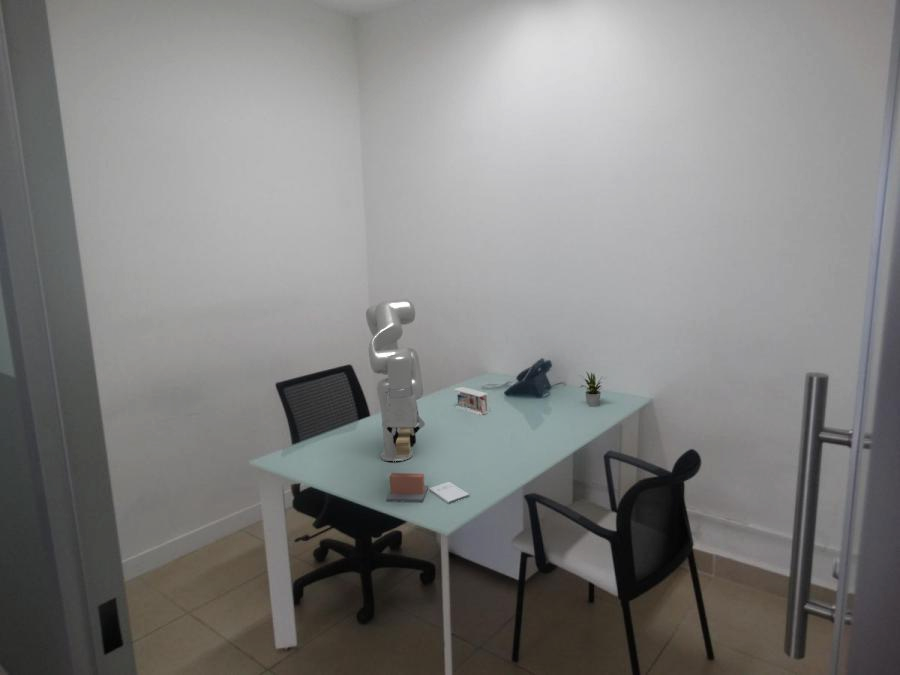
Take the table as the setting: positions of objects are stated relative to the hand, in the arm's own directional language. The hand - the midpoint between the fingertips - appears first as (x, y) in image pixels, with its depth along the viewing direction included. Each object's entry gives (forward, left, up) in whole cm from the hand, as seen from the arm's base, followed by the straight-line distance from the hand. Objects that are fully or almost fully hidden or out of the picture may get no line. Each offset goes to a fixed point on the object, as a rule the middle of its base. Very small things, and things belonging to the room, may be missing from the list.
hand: (404, 445), depth 186 cm
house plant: (-96, +67, -18) cm, 118 cm away
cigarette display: (-88, +11, -18) cm, 91 cm away
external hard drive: (-1, +14, -18) cm, 23 cm away
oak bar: (0, 0, 0) cm, 0 cm away
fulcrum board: (0, 0, -17) cm, 17 cm away
